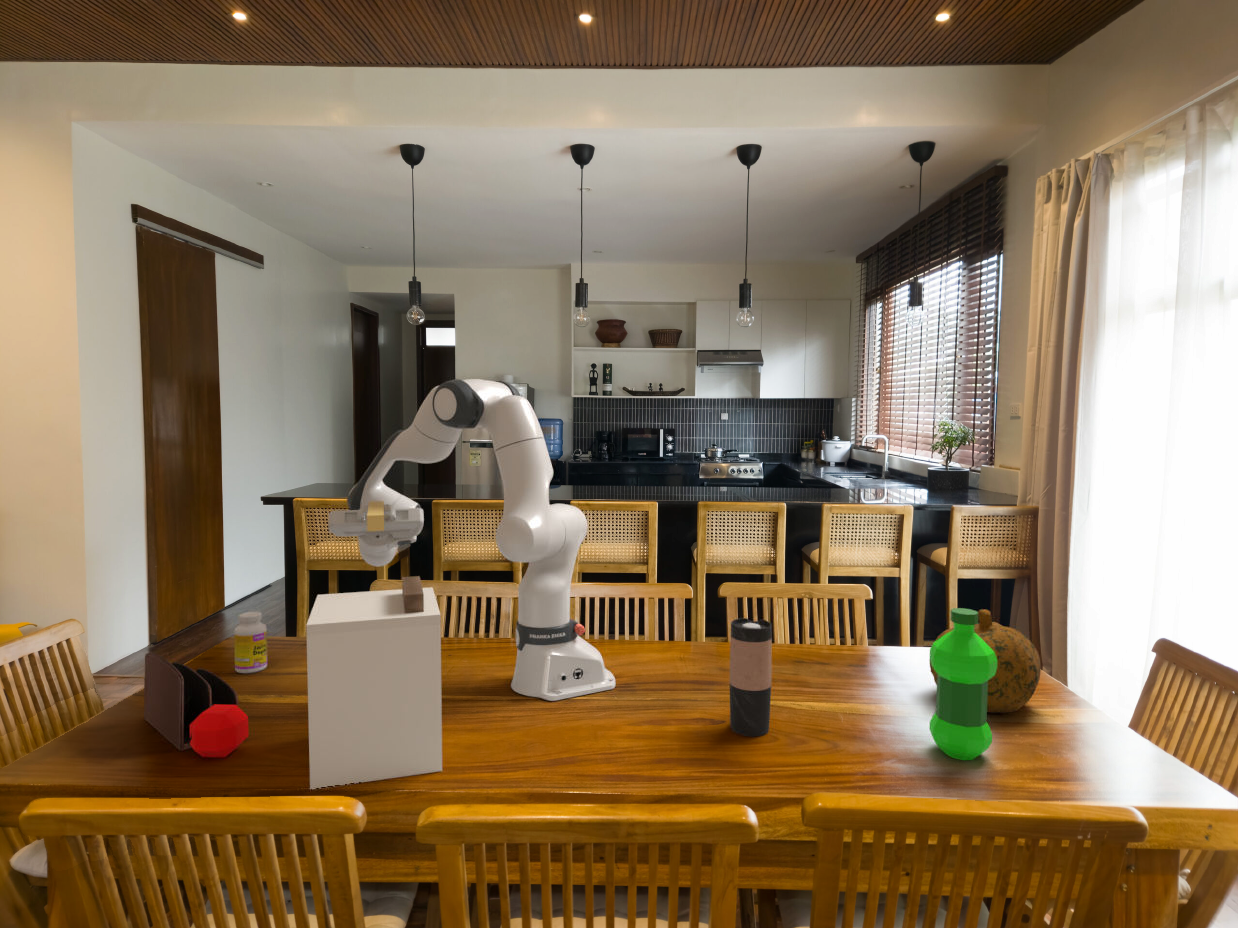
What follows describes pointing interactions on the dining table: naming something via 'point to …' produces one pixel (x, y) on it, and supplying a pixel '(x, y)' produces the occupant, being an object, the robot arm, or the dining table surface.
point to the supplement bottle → (250, 643)
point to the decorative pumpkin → (1007, 665)
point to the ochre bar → (375, 516)
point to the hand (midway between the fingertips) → (376, 507)
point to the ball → (218, 730)
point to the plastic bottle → (962, 688)
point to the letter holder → (180, 697)
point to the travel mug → (750, 676)
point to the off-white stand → (373, 688)
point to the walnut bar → (412, 594)
